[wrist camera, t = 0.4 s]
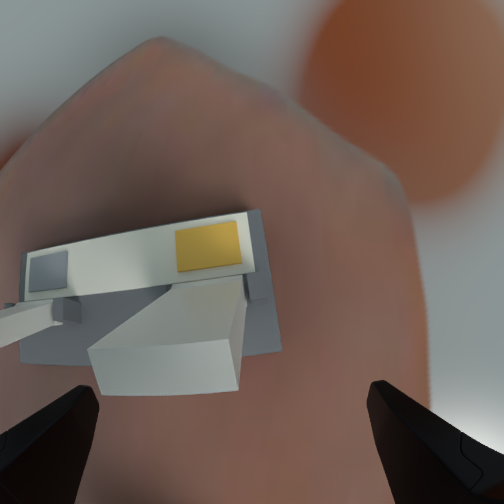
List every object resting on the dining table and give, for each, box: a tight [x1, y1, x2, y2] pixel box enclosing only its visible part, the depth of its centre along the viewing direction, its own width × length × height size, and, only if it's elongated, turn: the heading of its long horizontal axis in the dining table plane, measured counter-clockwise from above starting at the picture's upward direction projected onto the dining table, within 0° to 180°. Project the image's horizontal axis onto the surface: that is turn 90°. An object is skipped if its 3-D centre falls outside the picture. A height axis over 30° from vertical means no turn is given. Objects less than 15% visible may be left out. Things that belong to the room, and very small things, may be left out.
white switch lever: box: [87, 275, 247, 396], centre depth 14 cm, size 2×4×12 cm, turn 98°
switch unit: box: [4, 209, 282, 366], centre depth 21 cm, size 10×22×5 cm, turn 98°
